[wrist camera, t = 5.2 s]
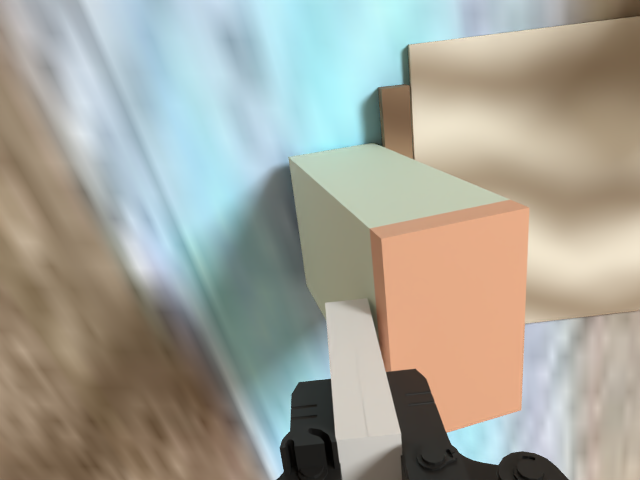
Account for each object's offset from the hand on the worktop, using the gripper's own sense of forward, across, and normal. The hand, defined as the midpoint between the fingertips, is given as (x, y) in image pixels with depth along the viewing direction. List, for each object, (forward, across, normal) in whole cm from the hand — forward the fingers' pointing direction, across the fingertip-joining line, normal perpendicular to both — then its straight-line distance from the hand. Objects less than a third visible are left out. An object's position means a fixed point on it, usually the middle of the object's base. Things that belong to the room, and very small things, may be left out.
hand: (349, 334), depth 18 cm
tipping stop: (+13, +12, 0) cm, 18 cm away
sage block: (+13, 0, 0) cm, 13 cm away
